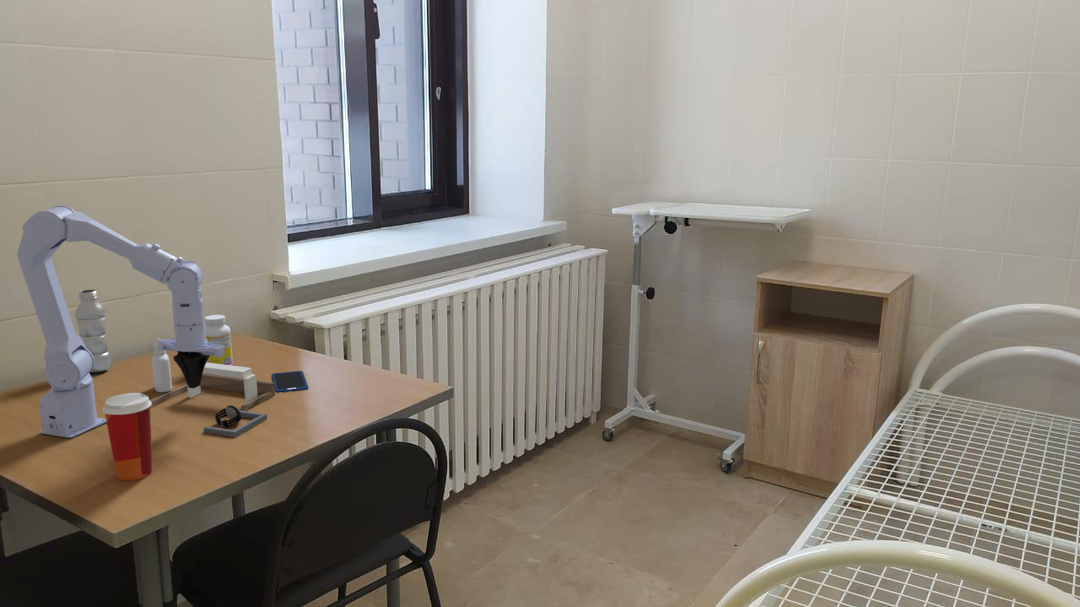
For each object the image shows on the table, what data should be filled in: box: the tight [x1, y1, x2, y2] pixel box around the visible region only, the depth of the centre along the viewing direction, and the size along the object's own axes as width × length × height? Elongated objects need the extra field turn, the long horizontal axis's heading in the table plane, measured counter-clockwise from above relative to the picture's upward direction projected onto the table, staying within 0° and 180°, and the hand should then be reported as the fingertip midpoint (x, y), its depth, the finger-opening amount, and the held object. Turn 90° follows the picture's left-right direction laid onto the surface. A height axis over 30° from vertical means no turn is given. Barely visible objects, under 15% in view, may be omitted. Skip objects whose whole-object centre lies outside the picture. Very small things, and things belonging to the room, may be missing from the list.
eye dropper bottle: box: [151, 337, 173, 393], centre depth 186 cm, size 4×6×12 cm
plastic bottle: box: [74, 289, 112, 374], centre depth 197 cm, size 6×7×20 cm
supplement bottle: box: [204, 314, 234, 366], centre depth 203 cm, size 7×7×13 cm
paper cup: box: [101, 392, 153, 482], centre depth 143 cm, size 8×8×14 cm
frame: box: [202, 409, 268, 438], centre depth 167 cm, size 10×7×1 cm
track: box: [150, 373, 276, 411], centre depth 178 cm, size 21×21×3 cm
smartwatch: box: [214, 405, 243, 429], centre depth 167 cm, size 4×5×5 cm
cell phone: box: [271, 370, 309, 394], centre depth 194 cm, size 7×14×1 cm, turn 22°
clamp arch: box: [186, 362, 259, 404], centre depth 181 cm, size 3×16×8 cm, turn 73°
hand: (194, 386), depth 168 cm, fingers closed
